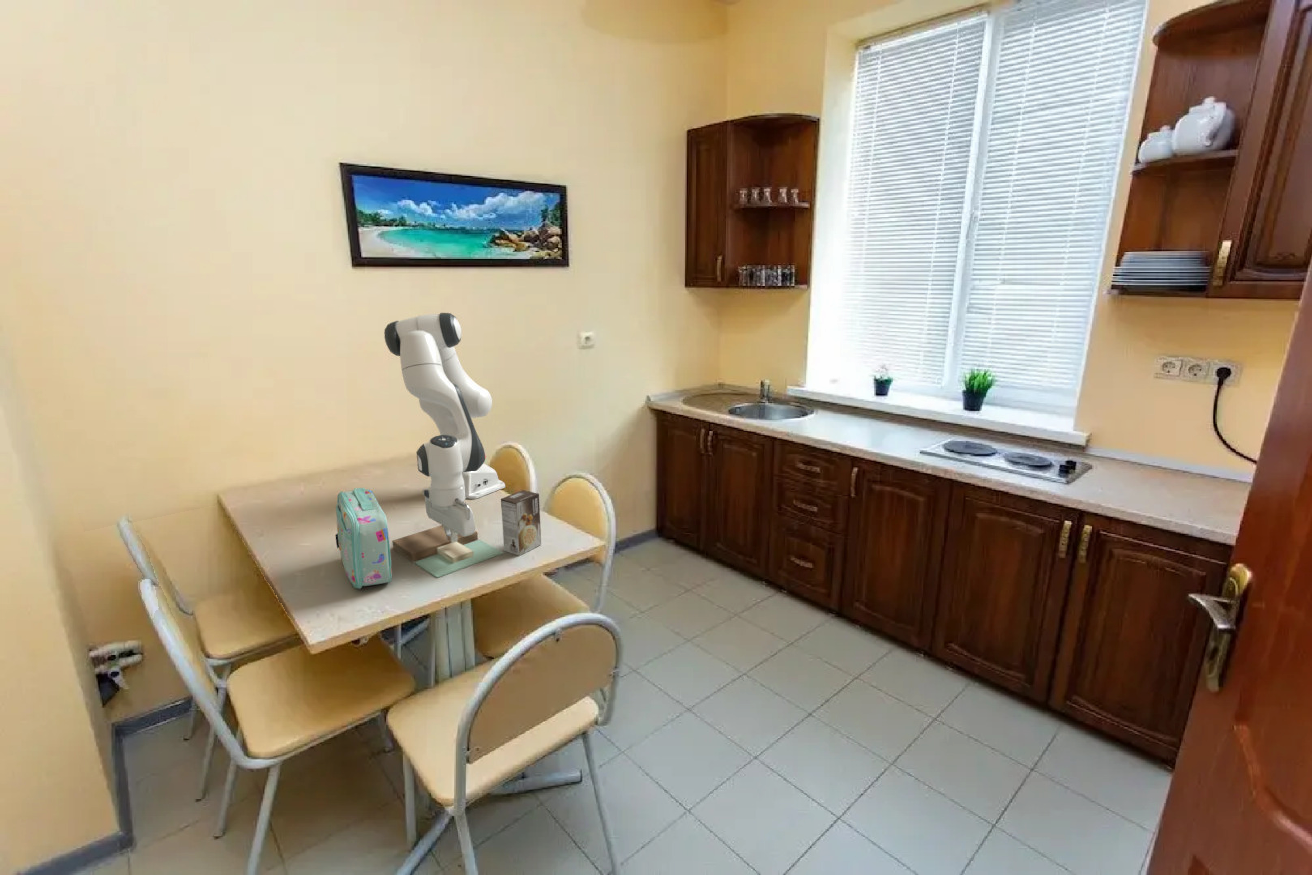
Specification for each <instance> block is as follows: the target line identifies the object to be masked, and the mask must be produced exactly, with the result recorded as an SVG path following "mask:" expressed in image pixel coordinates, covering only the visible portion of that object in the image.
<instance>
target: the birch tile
mask: <svg viewBox="0 0 1312 875" xmlns="http://www.w3.org/2000/svg"><path fill="white" fill-rule="evenodd" d="M437 553H438V554H440V555H441V556H443V557H445V558H446V559H448V560H450V561H451V562H453V563H456V562H458V561H461V560H464V559H467V558H469V557H472V556H473V551H472V550H470V549H469V548H467V547H465V546H463V545H462V544H460V543H458V542H454V543H450V544H447V545H444V546H441V547H438V548H437Z"/></svg>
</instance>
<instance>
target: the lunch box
mask: <svg viewBox="0 0 1312 875" xmlns="http://www.w3.org/2000/svg"><path fill="white" fill-rule="evenodd" d="M335 513H336V528H337V529H336V532H337V533H335V535H334V536H335V543H336V549H339V554H340V558H341V562H342V564H343V566H344V567H343V568H344V572H345V574H346V576H347V579H348V580H349V582H350V583H351V585H352V586H353V588H354V589H362V587H368V586H374V585H380V584H386V583H391V581H392V576H393V570H392V556H391V546H390V534H389V525H388V519H387V515H386V513H385V512H384V510H383V509H382V507H381V505H380V503H379V502H378V500H377V498H376V496H375V494H374V491H373V490H371V489H370V488H369V489H365V487H358V488H357V487H356V488H353V489H352V490H348V491H339V493H338V495H337V502H336V505H335Z"/></svg>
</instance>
